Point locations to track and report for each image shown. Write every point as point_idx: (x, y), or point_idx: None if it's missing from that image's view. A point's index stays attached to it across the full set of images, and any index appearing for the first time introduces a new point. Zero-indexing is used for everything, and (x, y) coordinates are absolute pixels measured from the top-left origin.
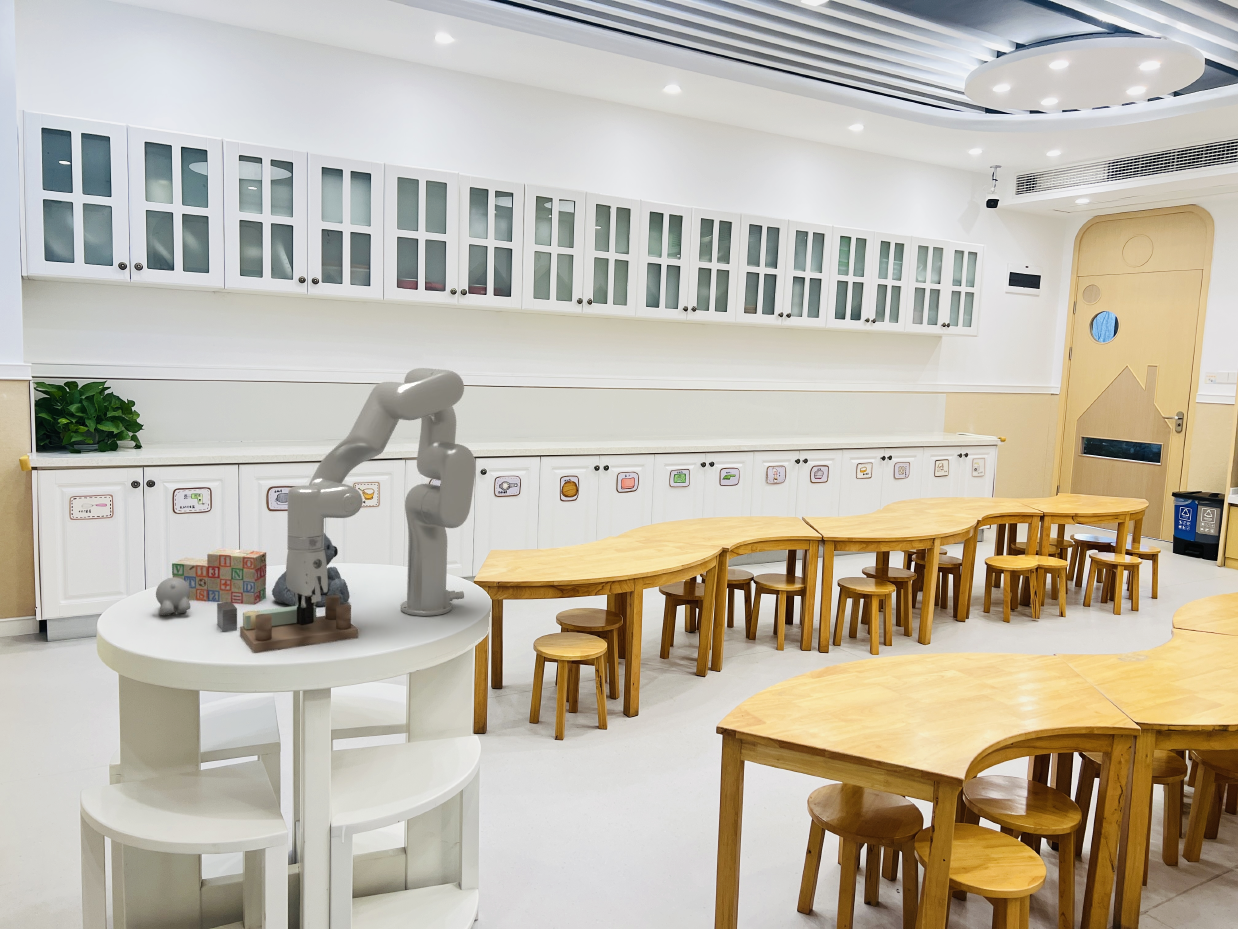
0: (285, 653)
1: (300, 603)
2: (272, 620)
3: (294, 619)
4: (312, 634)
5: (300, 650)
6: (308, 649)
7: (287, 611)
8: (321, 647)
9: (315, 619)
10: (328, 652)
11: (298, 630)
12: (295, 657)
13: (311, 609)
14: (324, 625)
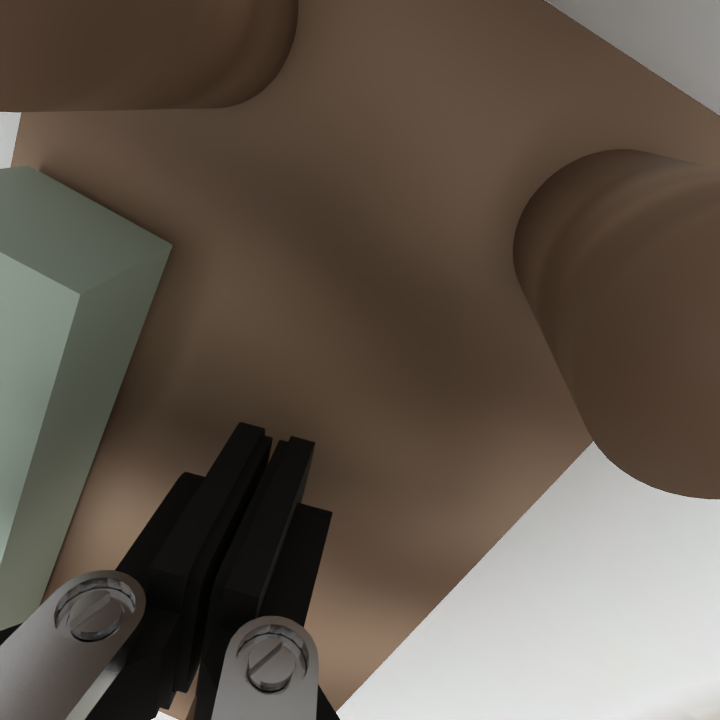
0: (443, 662)
1: (133, 717)
2: (30, 582)
3: (85, 440)
4: (461, 538)
5: (485, 603)
6: (520, 574)
7: (4, 552)
8: (579, 514)
9: (166, 254)
10: (698, 566)
11: None
12: (546, 686)
13: (302, 619)
14: (356, 297)
